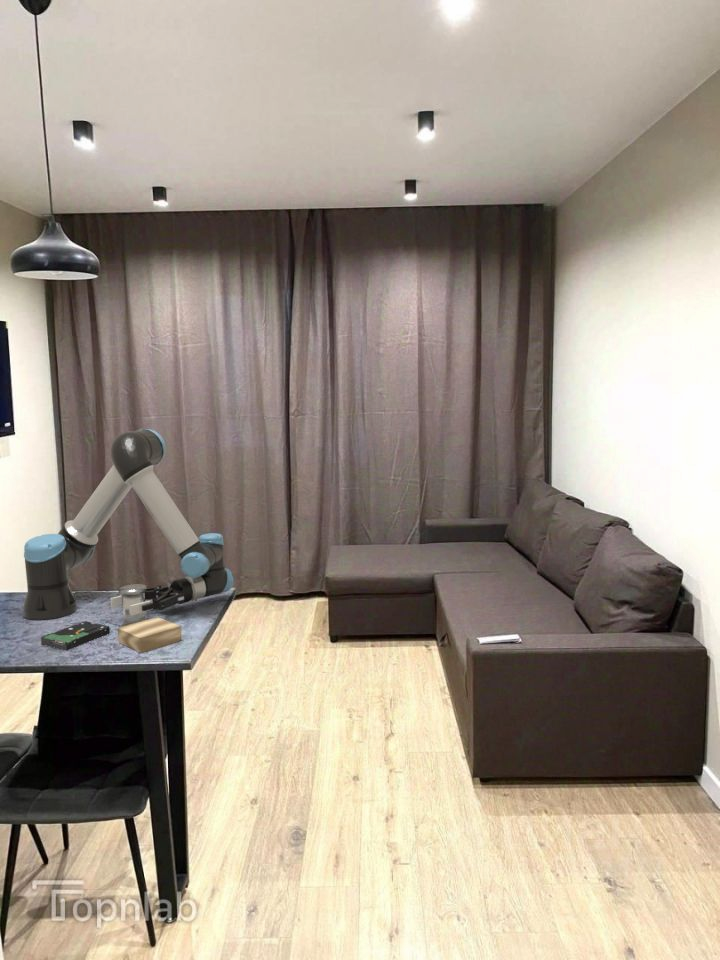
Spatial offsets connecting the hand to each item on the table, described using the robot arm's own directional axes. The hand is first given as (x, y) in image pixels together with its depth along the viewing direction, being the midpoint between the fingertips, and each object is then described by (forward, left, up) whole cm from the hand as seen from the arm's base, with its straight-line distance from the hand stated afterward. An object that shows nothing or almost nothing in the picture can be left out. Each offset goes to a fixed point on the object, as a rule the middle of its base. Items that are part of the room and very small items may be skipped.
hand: (120, 606), depth 205 cm
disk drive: (-1, -13, -7) cm, 15 cm away
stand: (+17, -1, -6) cm, 18 cm away
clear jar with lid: (0, +4, -6) cm, 7 cm away
